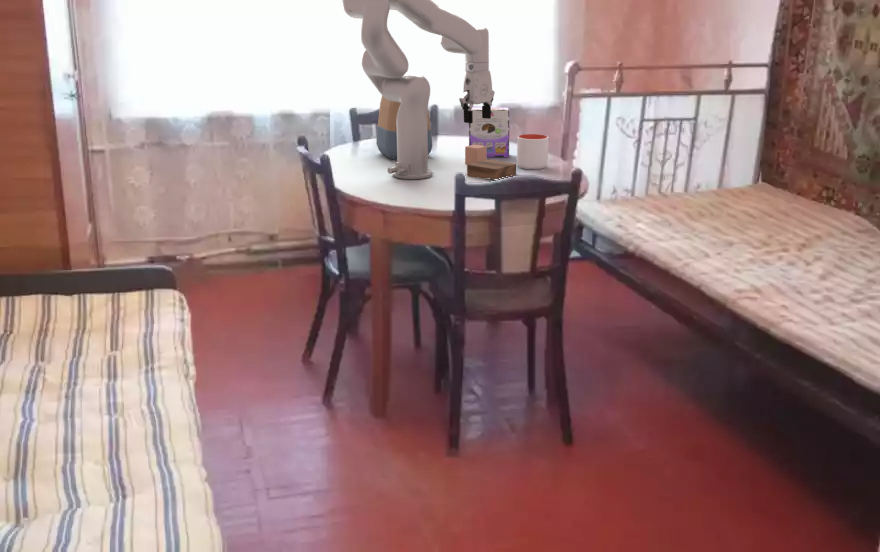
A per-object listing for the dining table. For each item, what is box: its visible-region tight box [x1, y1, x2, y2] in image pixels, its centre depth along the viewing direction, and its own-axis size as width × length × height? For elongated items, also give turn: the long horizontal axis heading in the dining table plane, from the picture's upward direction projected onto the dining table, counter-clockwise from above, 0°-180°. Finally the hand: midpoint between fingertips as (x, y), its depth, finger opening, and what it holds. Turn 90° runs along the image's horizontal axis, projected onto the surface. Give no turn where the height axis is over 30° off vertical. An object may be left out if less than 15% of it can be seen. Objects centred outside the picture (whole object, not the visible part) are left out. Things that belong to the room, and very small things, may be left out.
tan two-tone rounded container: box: [376, 95, 433, 161], centre depth 323 cm, size 17×17×23 cm
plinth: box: [466, 158, 517, 180], centre depth 296 cm, size 11×11×4 cm
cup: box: [516, 133, 550, 171], centre depth 307 cm, size 10×10×10 cm
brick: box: [464, 144, 487, 166], centre depth 312 cm, size 5×5×6 cm
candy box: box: [468, 106, 511, 158], centre depth 323 cm, size 14×6×16 cm, turn 84°
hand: (477, 120), depth 308 cm, fingers open, 9 cm apart
